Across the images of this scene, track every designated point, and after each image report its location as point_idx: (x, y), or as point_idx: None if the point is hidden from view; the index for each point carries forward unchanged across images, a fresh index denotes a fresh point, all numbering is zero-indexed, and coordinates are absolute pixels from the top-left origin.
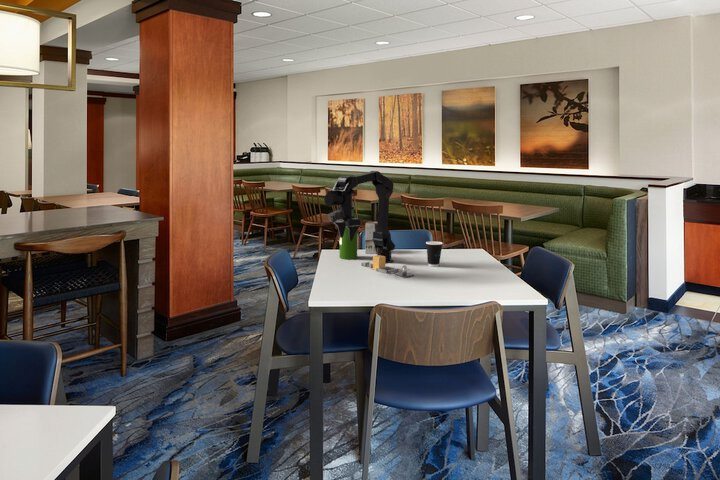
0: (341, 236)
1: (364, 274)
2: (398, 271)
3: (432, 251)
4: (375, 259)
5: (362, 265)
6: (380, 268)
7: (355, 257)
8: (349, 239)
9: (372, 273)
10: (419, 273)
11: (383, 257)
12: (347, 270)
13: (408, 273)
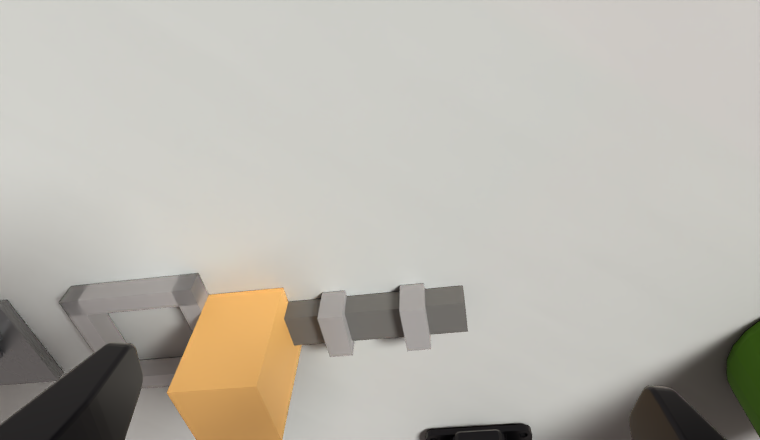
0: (651, 420)
1: (88, 122)
2: None
3: None
4: (226, 364)
5: (448, 289)
6: (184, 313)
7: (728, 380)
8: (103, 361)
9: (115, 204)
10: None
11: (192, 423)
12: (333, 67)
13: (6, 378)
